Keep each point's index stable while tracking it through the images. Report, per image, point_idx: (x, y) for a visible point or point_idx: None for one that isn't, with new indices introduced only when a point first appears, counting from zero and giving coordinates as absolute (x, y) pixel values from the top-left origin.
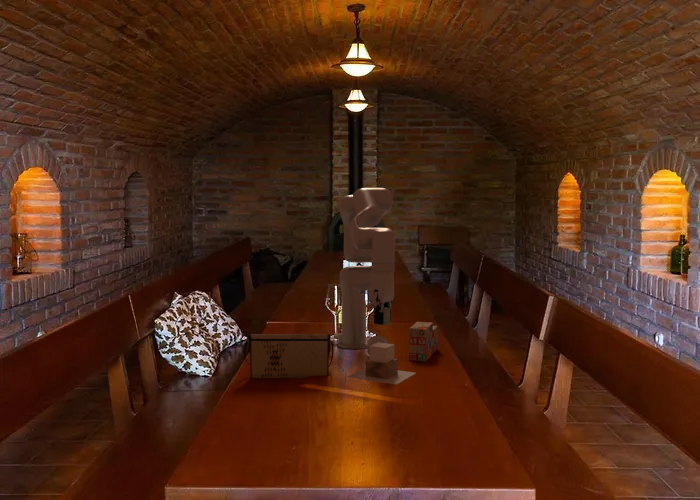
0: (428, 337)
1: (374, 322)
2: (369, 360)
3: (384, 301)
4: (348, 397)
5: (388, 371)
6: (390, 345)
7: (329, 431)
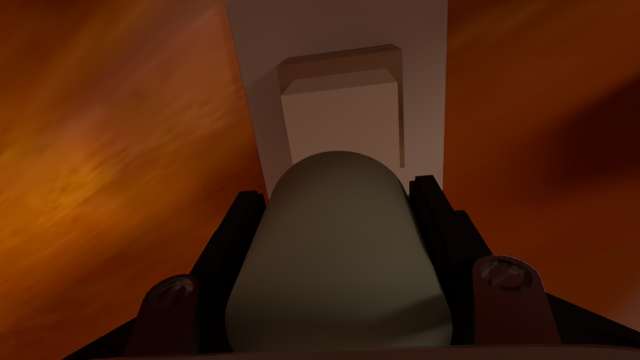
0: None
1: (239, 199)
2: (298, 74)
3: None
4: (89, 132)
5: None
6: None
7: None
